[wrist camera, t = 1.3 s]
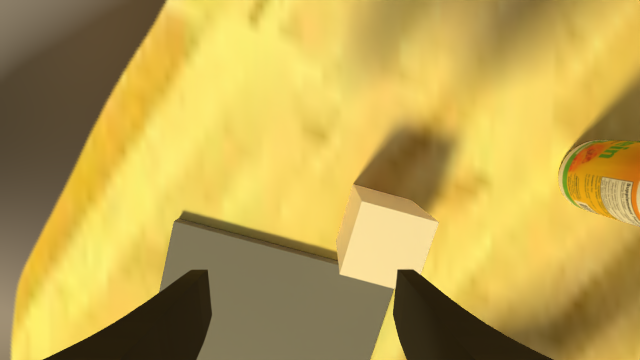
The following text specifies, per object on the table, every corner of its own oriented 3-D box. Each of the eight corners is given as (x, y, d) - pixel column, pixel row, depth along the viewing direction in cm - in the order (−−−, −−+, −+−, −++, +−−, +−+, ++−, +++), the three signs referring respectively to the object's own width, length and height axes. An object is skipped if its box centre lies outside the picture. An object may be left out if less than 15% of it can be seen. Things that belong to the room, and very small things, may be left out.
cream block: (411, 200, 25) (438, 222, 19) (393, 255, 26) (413, 294, 20) (352, 183, 25) (361, 201, 19) (336, 240, 25) (339, 274, 19)
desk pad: (394, 276, 26) (396, 280, 25) (352, 399, 28) (353, 407, 27) (178, 218, 25) (173, 221, 24) (151, 349, 27) (146, 355, 26)
